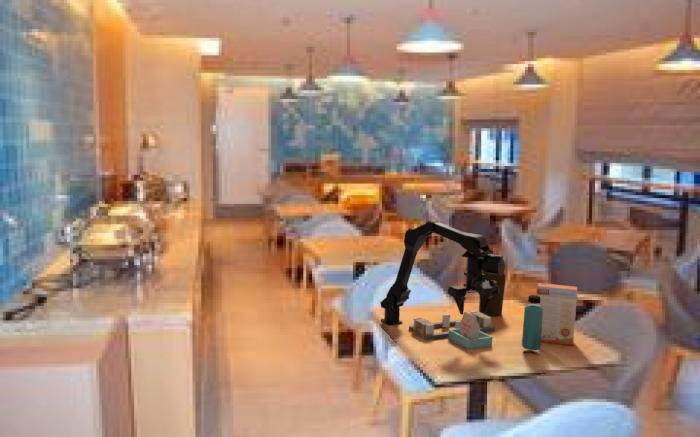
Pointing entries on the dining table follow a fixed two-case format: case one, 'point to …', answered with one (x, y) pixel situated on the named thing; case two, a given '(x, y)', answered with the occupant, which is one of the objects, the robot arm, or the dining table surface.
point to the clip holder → (448, 323)
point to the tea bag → (469, 326)
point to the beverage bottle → (532, 324)
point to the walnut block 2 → (480, 318)
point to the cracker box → (557, 312)
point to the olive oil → (496, 301)
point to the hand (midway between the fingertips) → (472, 313)
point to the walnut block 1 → (421, 326)
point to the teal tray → (470, 344)
